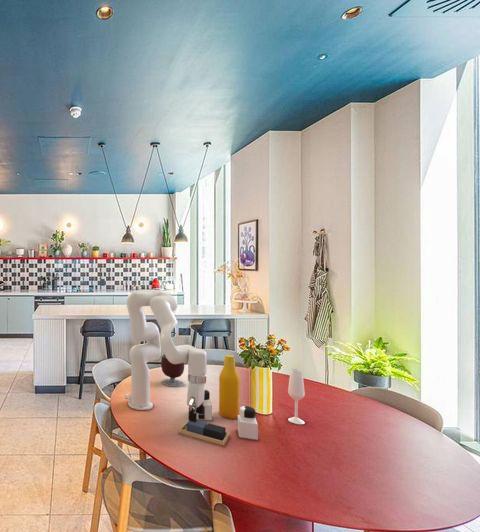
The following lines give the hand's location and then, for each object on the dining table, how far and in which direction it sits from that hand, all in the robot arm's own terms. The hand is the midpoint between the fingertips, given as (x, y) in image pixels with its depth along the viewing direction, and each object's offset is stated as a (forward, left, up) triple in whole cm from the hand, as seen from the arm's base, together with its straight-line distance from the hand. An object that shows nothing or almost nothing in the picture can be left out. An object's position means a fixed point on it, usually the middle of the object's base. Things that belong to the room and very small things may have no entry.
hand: (195, 417), depth 149 cm
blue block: (0, 0, -6) cm, 6 cm away
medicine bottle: (+19, +11, -7) cm, 23 cm away
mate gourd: (-31, +55, -7) cm, 64 cm away
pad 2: (+8, 0, -6) cm, 10 cm away
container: (-2, +18, -7) cm, 19 cm away
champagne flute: (+35, +40, -7) cm, 53 cm away
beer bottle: (+8, +28, -7) cm, 30 cm away
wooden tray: (+4, 0, -7) cm, 8 cm away
